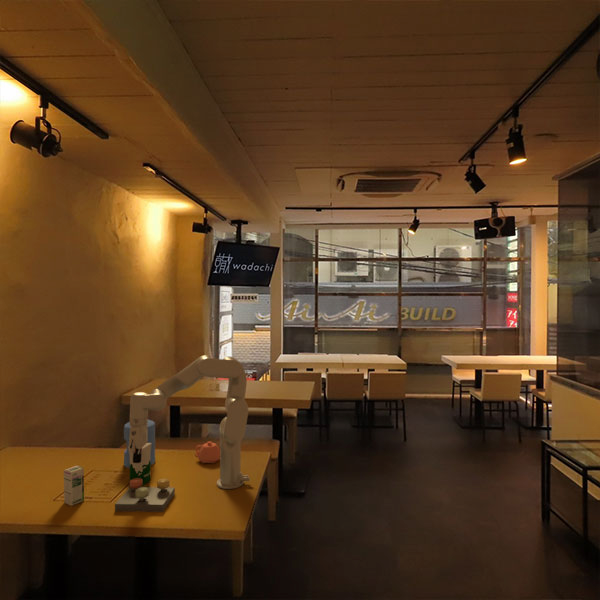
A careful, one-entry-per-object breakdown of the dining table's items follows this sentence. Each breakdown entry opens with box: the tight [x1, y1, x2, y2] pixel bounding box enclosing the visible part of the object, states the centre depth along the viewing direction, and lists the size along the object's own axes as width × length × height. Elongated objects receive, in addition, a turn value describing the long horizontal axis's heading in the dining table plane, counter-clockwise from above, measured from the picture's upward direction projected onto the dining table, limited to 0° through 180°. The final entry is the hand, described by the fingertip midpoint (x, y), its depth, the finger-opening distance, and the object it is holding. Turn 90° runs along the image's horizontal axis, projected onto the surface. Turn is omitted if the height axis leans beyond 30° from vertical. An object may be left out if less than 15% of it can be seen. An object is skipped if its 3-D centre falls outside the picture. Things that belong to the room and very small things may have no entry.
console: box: [114, 486, 176, 513], centre depth 190 cm, size 20×16×3 cm
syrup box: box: [63, 465, 85, 507], centre depth 190 cm, size 6×6×14 cm
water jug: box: [123, 419, 156, 469], centre depth 232 cm, size 16×16×28 cm
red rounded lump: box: [129, 478, 143, 492], centre depth 194 cm, size 5×5×5 cm
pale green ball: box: [136, 486, 149, 502], centre depth 185 cm, size 5×5×5 cm
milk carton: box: [128, 443, 152, 487], centre depth 209 cm, size 9×9×20 cm
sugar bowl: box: [194, 441, 220, 464], centre depth 237 cm, size 12×14×10 cm
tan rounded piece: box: [156, 477, 170, 492], centre depth 194 cm, size 5×5×5 cm
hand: (136, 462), depth 195 cm, fingers closed
